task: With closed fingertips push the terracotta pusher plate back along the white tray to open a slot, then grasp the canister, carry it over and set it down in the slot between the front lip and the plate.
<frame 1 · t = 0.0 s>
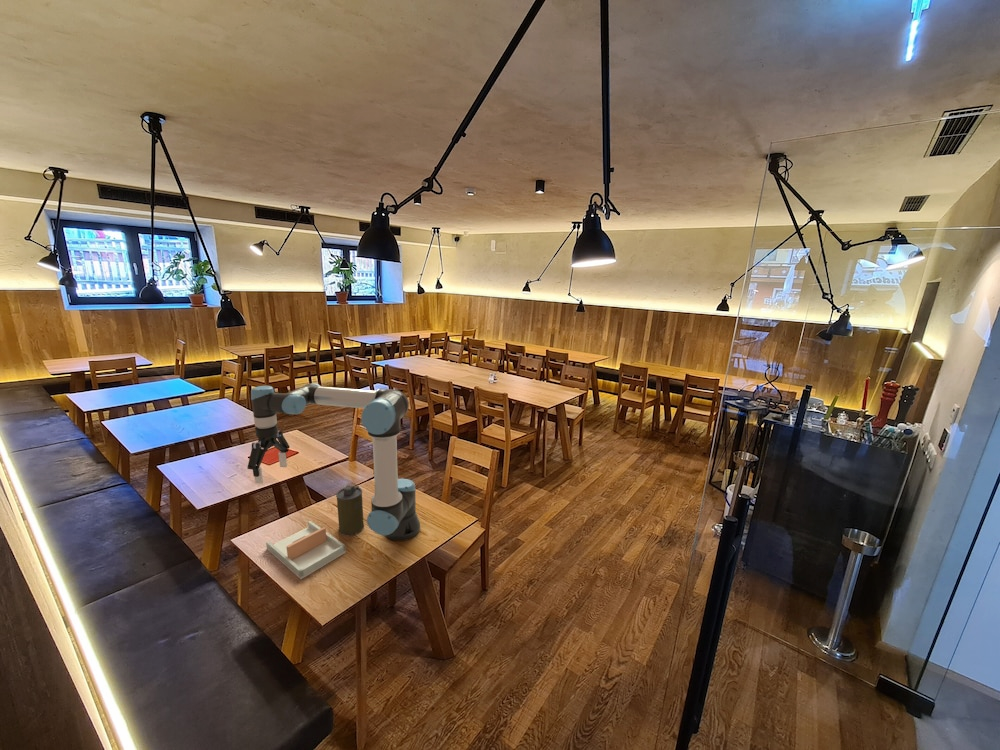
hand: (271, 474, 156), 28 cm above the table, fingers open, 13 cm apart
canister: (351, 528, 168), on the table
white tray: (306, 550, 153), on the table
pusher: (303, 540, 153), point 4 cm above the table, slide at 0.0 cm
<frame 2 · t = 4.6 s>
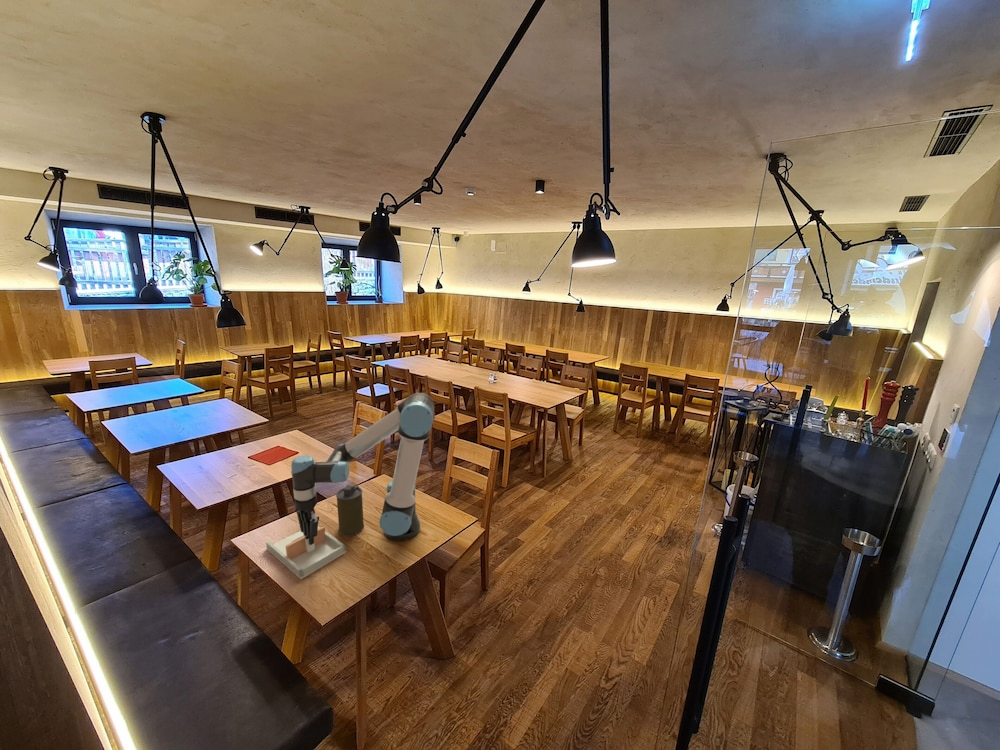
hand: (310, 549, 151), 2 cm above the table, fingers closed
pusher: (302, 539, 154), point 4 cm above the table, slide at 0.7 cm, touching gripper
everything else where it was.
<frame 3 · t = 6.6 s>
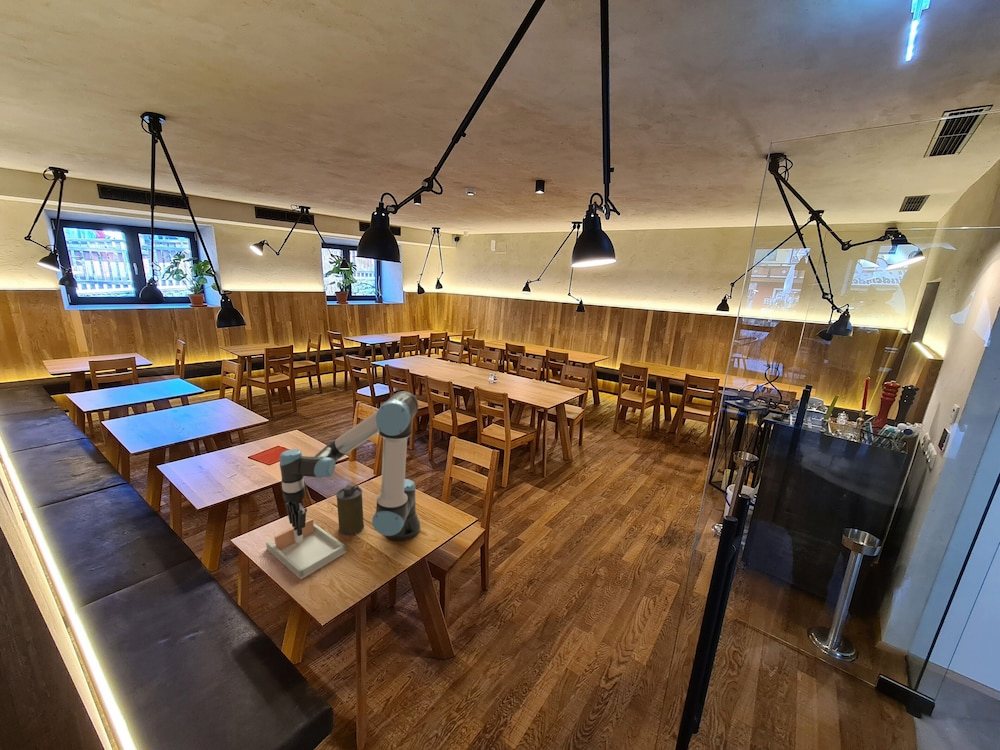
hand: (299, 540, 156), 2 cm above the table, fingers closed
pusher: (291, 531, 159), point 4 cm above the table, slide at 9.4 cm, touching gripper
everything else where it was.
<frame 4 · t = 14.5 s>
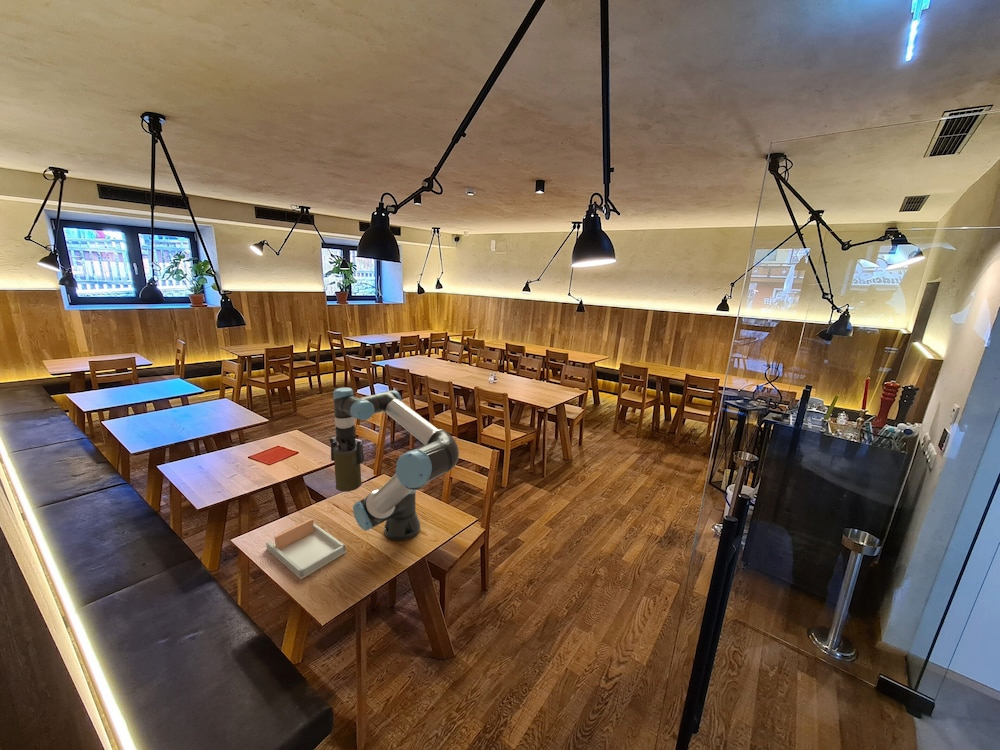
hand: (348, 476, 162), 25 cm above the table, fingers open, 6 cm apart
canister: (349, 485, 163), point 21 cm above the table, touching hand
pusher: (291, 531, 159), point 4 cm above the table, slide at 9.4 cm
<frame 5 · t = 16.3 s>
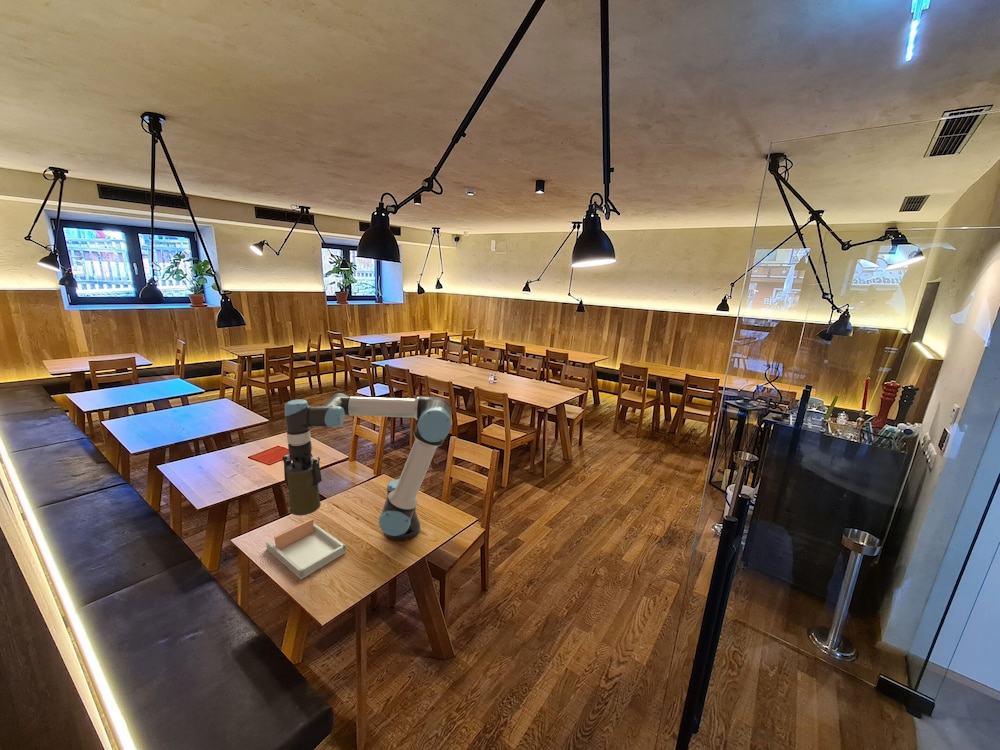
hand: (305, 498, 146), 25 cm above the table, fingers open, 6 cm apart
canister: (306, 507, 147), point 21 cm above the table, touching hand
everything else where it was.
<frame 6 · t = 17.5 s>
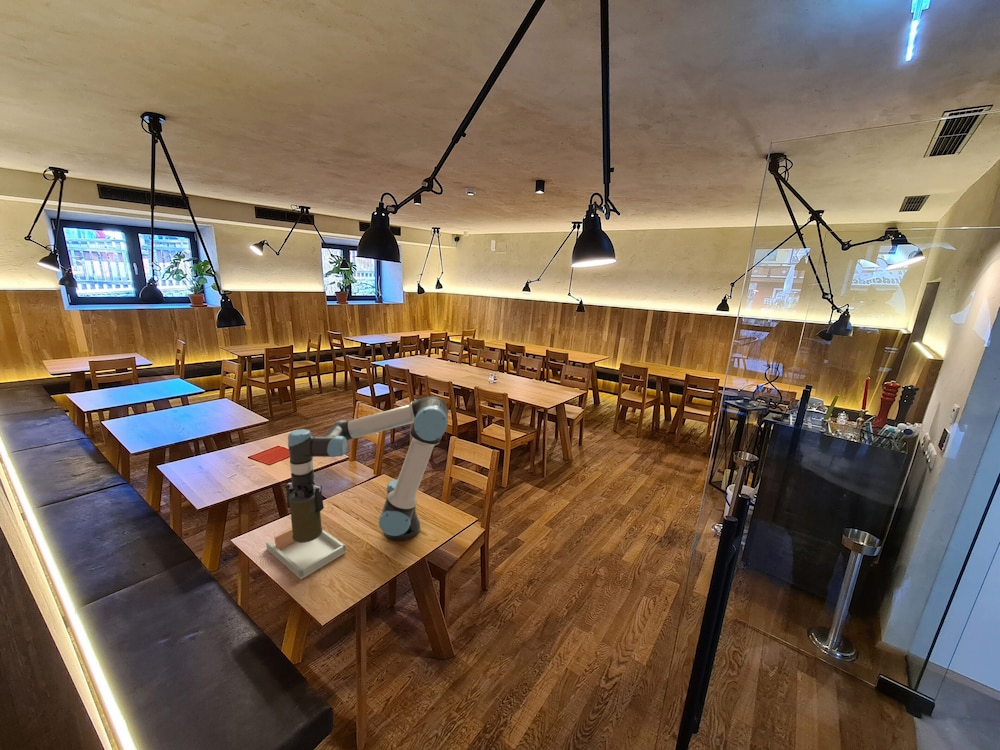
hand: (307, 525, 149), 13 cm above the table, fingers open, 6 cm apart
canister: (308, 534, 150), point 9 cm above the table, touching hand
everything else where it was.
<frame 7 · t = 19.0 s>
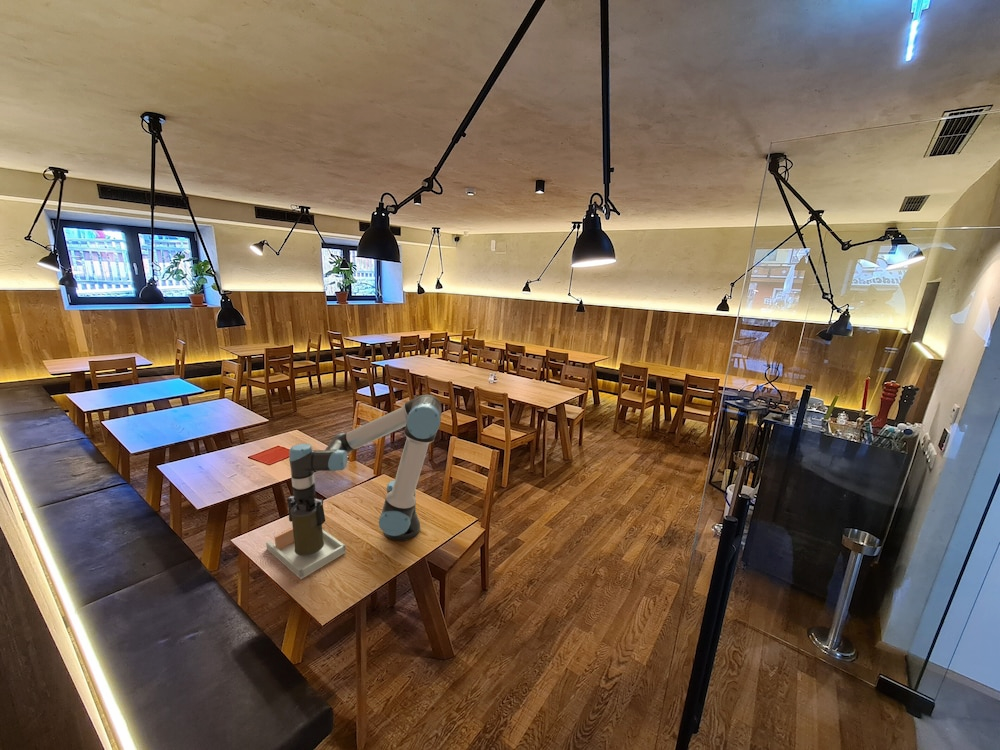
hand: (309, 537, 150), 7 cm above the table, fingers open, 6 cm apart
canister: (310, 546, 151), point 3 cm above the table, touching hand
everything else where it was.
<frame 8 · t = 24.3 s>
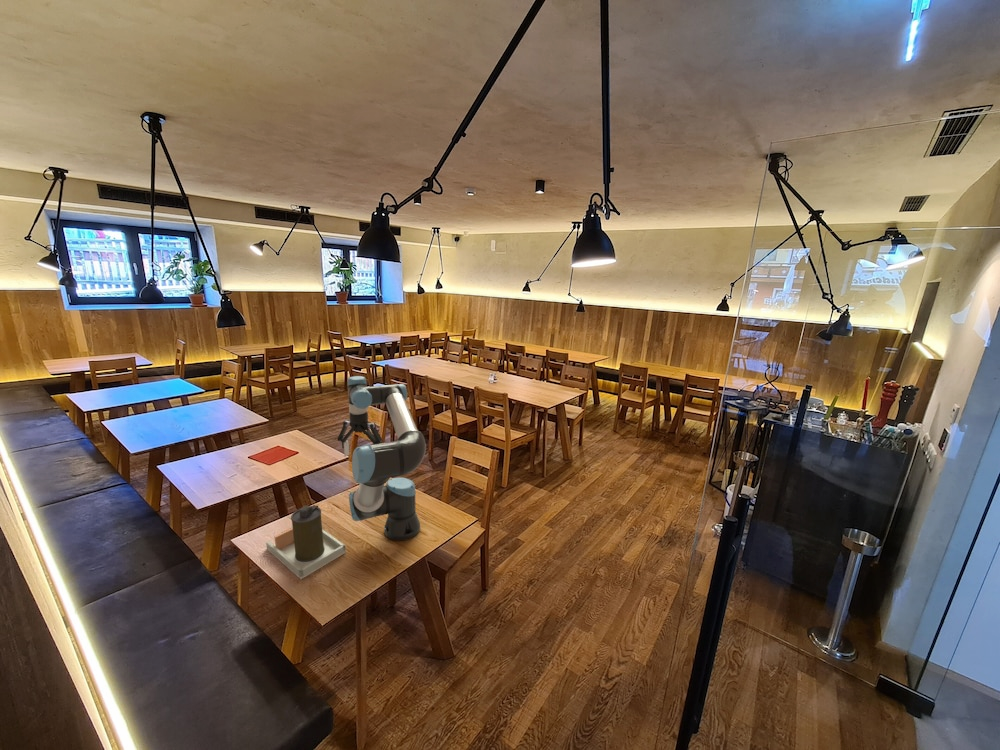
hand: (361, 456, 172), 29 cm above the table, fingers open, 13 cm apart
canister: (310, 552, 152), point 1 cm above the table, touching white tray
everything else where it was.
at the end: canister inside the target area (0.1 cm from its centre), point 0.6 cm above the table; canister tilted 0°; pusher slide at 9.4 cm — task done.
